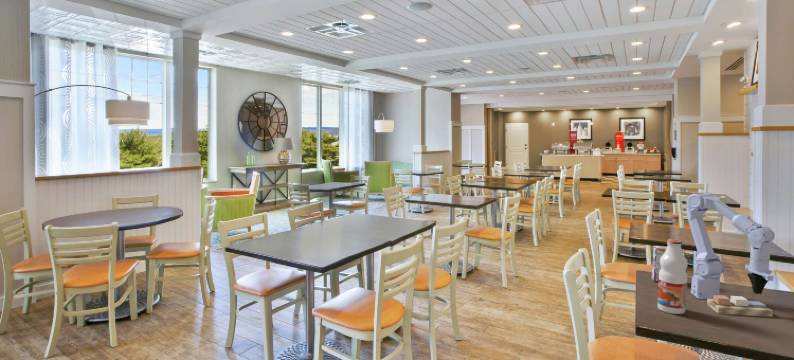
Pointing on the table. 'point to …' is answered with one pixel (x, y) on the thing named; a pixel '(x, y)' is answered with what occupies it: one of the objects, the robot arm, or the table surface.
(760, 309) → the light wood flat board
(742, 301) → the off-white key
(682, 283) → the fruit juice
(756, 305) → the slate blue key
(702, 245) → the robot arm
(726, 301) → the terracotta key
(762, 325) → the table surface
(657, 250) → the candy bar box
